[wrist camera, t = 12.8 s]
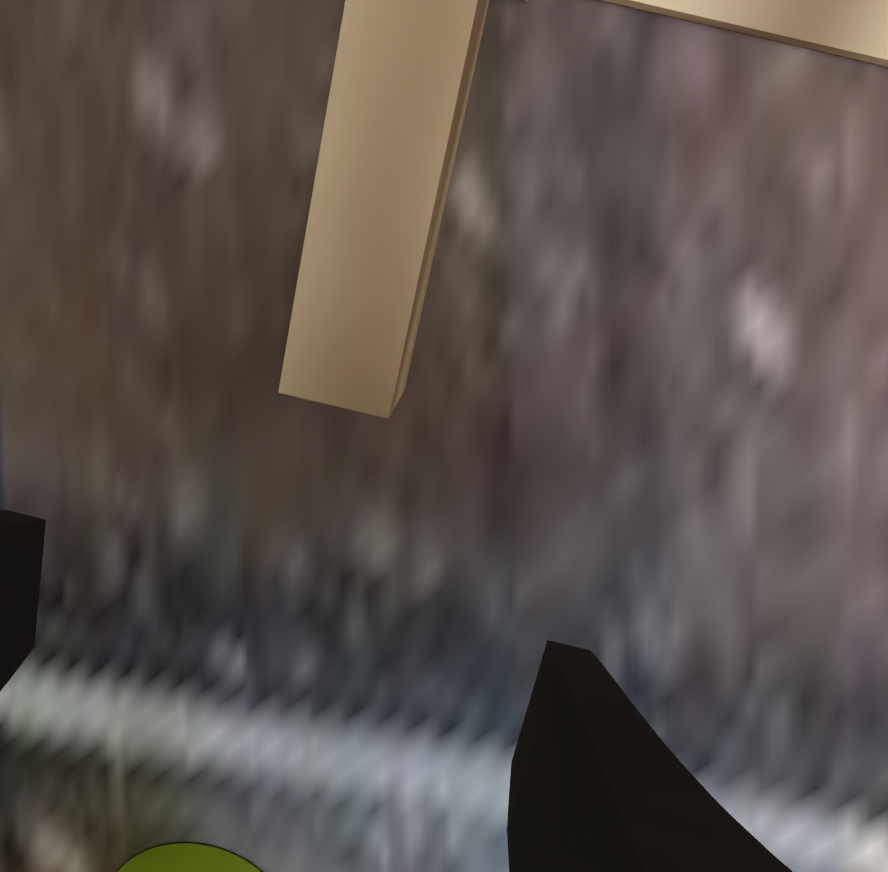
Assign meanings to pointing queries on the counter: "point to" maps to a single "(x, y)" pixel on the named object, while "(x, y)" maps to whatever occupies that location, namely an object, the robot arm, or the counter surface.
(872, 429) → the counter surface
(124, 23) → the counter surface
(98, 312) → the counter surface
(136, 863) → the soap dispenser
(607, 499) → the counter surface
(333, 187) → the turner
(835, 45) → the cork mat
